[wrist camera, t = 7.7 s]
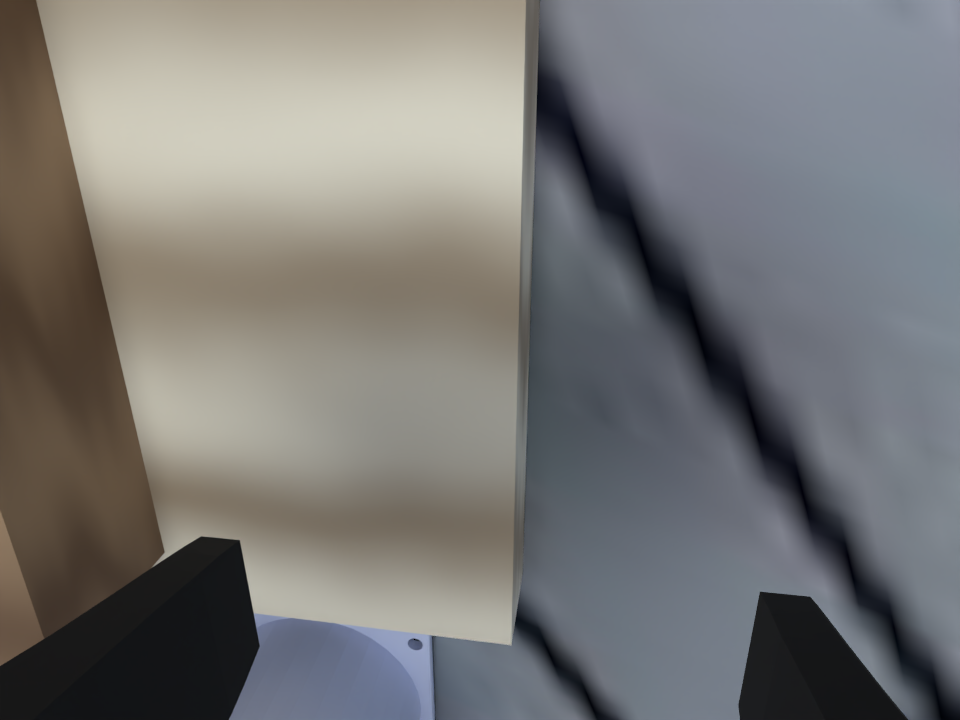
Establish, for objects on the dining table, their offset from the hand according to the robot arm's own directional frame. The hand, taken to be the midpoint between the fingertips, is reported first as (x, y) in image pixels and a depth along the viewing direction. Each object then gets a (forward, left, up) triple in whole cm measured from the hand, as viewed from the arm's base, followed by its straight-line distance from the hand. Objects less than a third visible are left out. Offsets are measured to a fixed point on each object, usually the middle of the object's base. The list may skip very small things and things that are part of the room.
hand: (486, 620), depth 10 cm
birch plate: (+2, +7, -10) cm, 13 cm away
